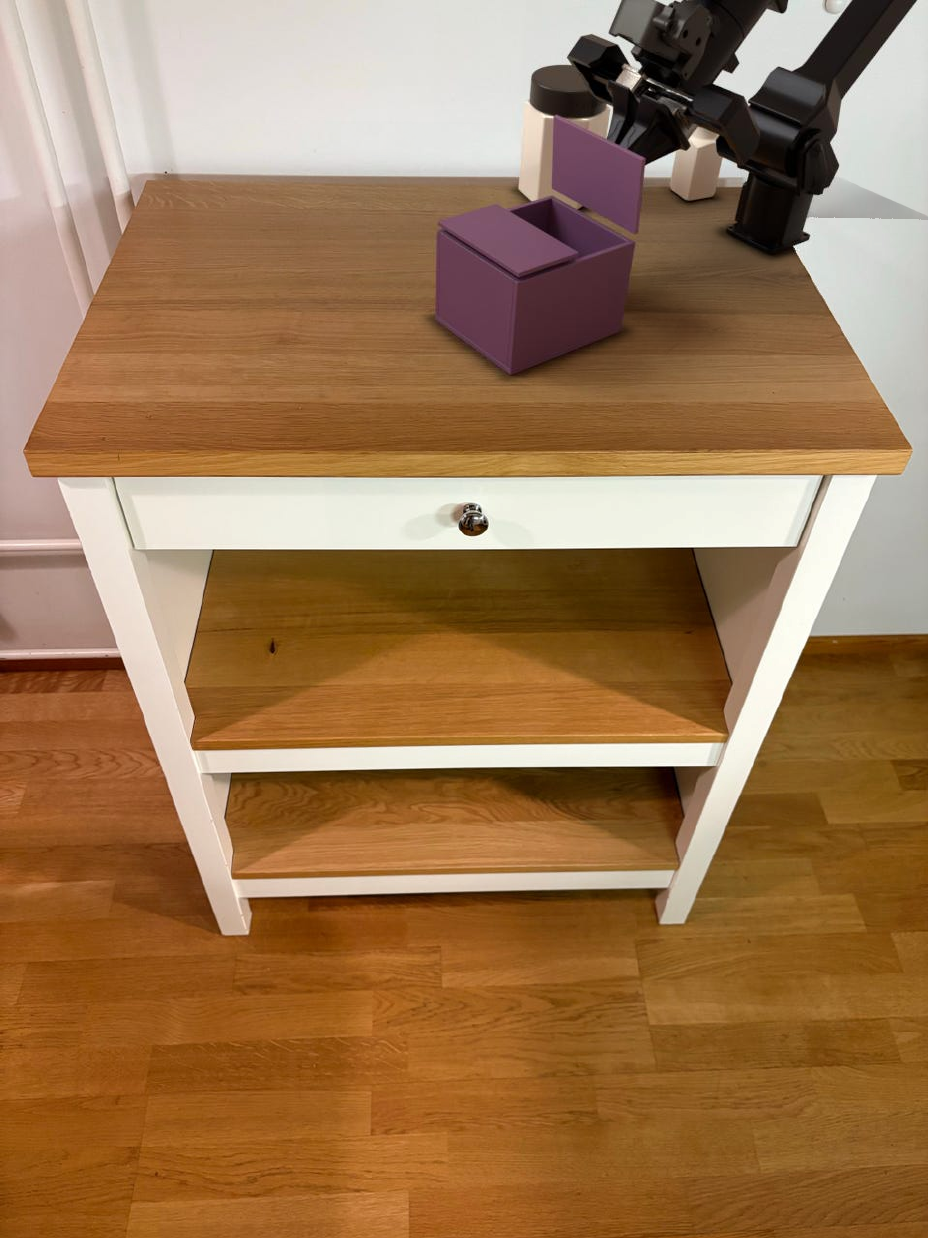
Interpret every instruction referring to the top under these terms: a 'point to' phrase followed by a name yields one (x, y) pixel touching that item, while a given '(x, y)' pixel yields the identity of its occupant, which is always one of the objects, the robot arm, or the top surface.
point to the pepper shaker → (697, 167)
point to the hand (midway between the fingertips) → (598, 184)
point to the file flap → (597, 173)
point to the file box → (530, 281)
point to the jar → (549, 97)
